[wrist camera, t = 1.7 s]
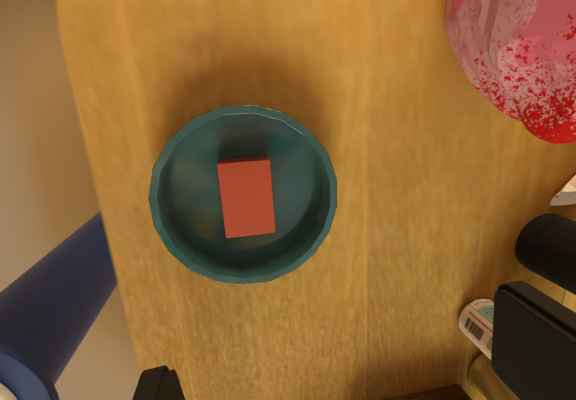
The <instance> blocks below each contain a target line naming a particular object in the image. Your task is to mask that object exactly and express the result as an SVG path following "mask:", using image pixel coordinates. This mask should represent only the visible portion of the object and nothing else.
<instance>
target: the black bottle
mask: <svg viewBox="0 0 576 400" xmlns="http://www.w3.org/2000/svg"><path fill="white" fill-rule="evenodd" d="M516 256H517V258H518V260H519V262H520V263H521V264H522V265H523V266H525V267H526V268H528V269H530V270H531V271H533V272H535V273H537V274H539V275H541V276H542V277H544V278H546V279H548V280H550V281H551V282H553V283H555V284H557V285H559V286H560V287H562V288H564V289H566V290H568V291H569V292H571V293H573V294H575V295H576V221H573V220H570V219H567V218H564V217H561V216H558V215H555V214H544V215H542V216H539V217H537V218H535V219H534V220H532V221H531V222H529V223H528V224H527V225H526V226H525V228H524V229H523V230H522V231H521V233H520V235H519V237H518V239H517V243H516Z"/></svg>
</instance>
